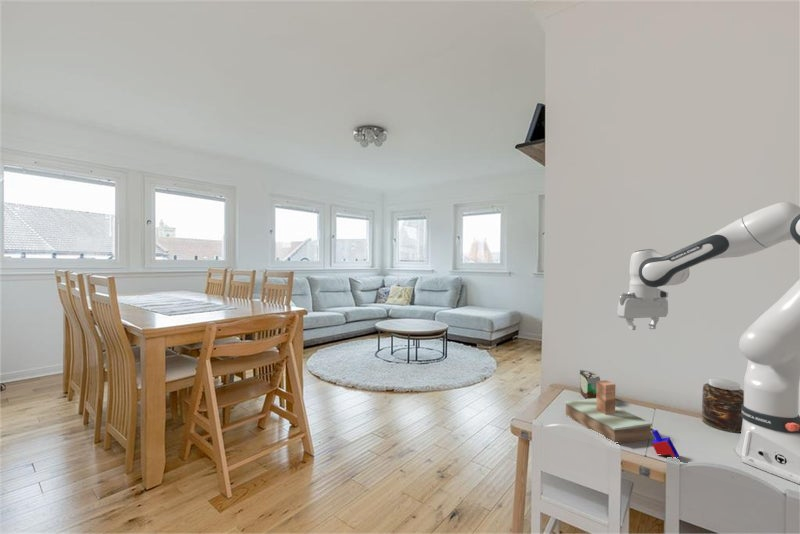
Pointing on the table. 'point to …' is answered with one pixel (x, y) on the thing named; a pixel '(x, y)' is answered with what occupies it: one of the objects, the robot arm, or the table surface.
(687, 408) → the table surface
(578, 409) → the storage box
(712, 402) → the jar
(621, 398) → the table surface
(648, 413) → the table surface
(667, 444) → the toy building block
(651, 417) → the table surface
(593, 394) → the food container
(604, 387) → the tall block
